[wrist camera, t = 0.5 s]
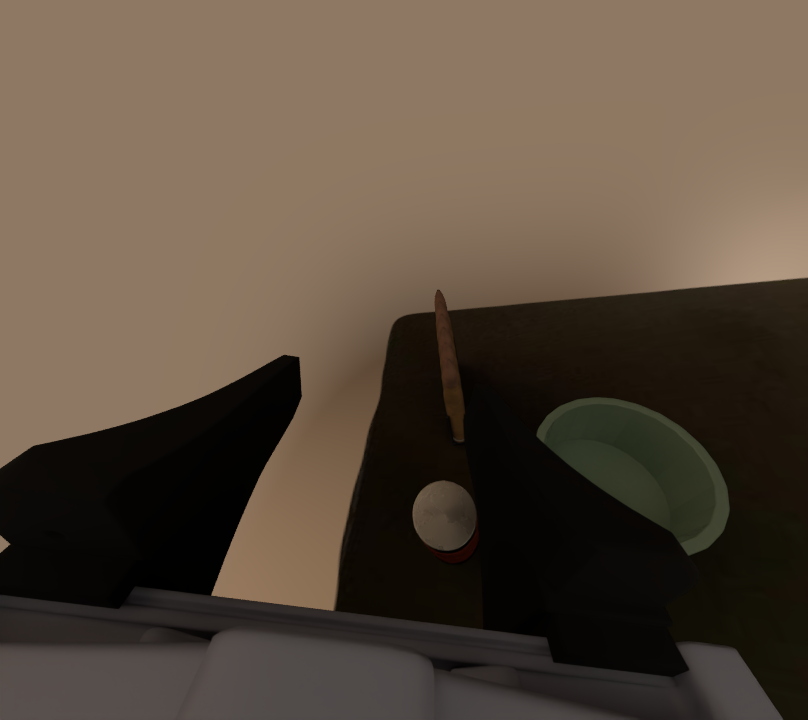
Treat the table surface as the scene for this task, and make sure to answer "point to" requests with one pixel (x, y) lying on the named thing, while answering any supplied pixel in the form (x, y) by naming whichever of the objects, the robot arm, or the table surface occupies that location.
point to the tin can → (447, 521)
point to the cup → (643, 465)
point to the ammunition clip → (450, 372)
